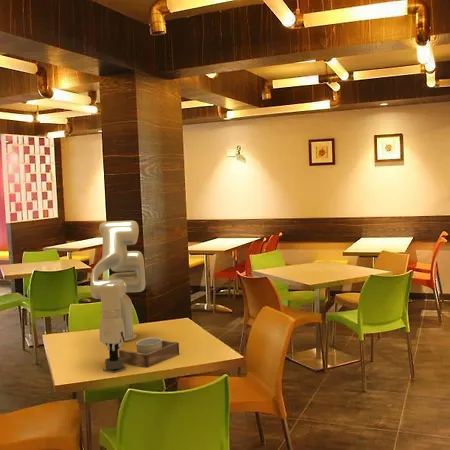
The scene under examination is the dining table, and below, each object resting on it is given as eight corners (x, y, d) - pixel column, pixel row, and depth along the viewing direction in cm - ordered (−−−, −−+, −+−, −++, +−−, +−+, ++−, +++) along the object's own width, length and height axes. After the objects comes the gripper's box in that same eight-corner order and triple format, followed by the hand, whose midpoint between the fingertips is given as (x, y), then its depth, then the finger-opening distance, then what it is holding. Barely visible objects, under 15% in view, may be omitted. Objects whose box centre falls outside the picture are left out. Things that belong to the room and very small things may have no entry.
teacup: (160, 363, 240) (159, 343, 239) (134, 363, 240) (133, 344, 240) (166, 353, 254) (165, 334, 253) (141, 353, 254) (140, 335, 254)
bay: (119, 362, 243) (118, 350, 243) (152, 349, 260) (151, 338, 259) (147, 367, 234) (146, 355, 234) (179, 354, 251) (178, 342, 251)
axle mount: (103, 370, 233) (102, 362, 233) (114, 366, 238) (114, 357, 238) (114, 372, 229) (114, 364, 229) (126, 368, 235) (125, 359, 234)
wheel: (101, 367, 233) (101, 360, 233) (114, 362, 238) (114, 356, 238) (114, 370, 229) (114, 363, 229) (127, 365, 235) (126, 358, 234)
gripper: (91, 314, 233) (93, 359, 234) (118, 317, 225) (121, 364, 226) (104, 310, 239) (107, 355, 240) (132, 313, 231) (134, 359, 232)
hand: (114, 359), depth 233 cm, fingers closed
